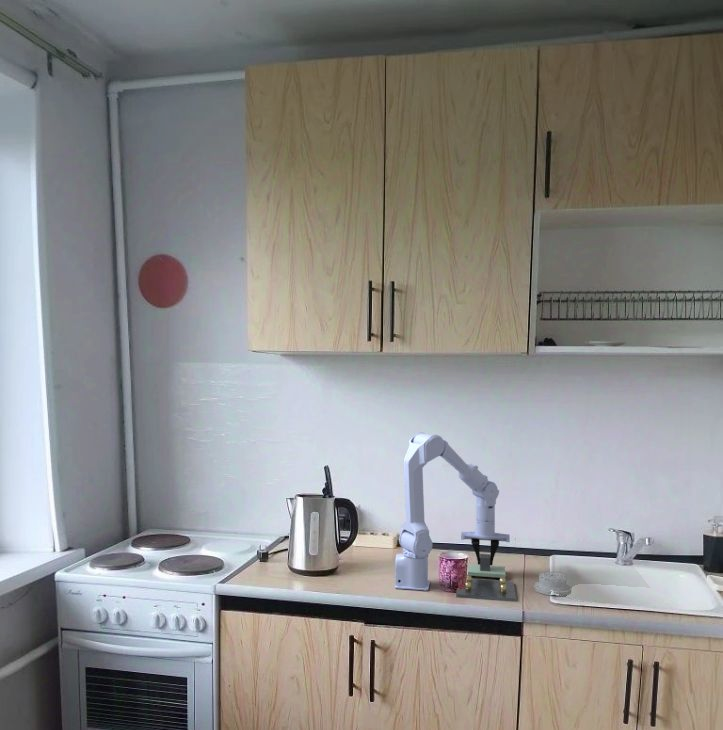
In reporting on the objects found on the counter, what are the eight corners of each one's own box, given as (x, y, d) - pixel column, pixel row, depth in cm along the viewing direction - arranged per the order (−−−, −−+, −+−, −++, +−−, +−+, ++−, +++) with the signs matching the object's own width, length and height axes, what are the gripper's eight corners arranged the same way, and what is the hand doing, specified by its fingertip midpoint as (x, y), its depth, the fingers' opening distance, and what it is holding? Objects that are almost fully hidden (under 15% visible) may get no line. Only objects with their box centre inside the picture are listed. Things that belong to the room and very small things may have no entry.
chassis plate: (456, 597, 169) (456, 586, 169) (458, 580, 183) (458, 571, 183) (516, 601, 166) (516, 590, 166) (513, 584, 180) (513, 574, 180)
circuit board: (464, 575, 186) (464, 558, 186) (465, 567, 194) (465, 551, 194) (505, 577, 183) (505, 561, 184) (504, 569, 191) (504, 553, 191)
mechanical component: (576, 590, 176) (542, 583, 182) (576, 574, 176) (542, 567, 182) (563, 600, 168) (528, 592, 174) (563, 583, 168) (528, 576, 175)
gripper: (508, 517, 191) (508, 561, 191) (461, 515, 194) (461, 558, 194) (510, 522, 184) (509, 568, 184) (461, 520, 187) (460, 565, 187)
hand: (485, 564), depth 189 cm, fingers closed on circuit board, 3 cm apart
